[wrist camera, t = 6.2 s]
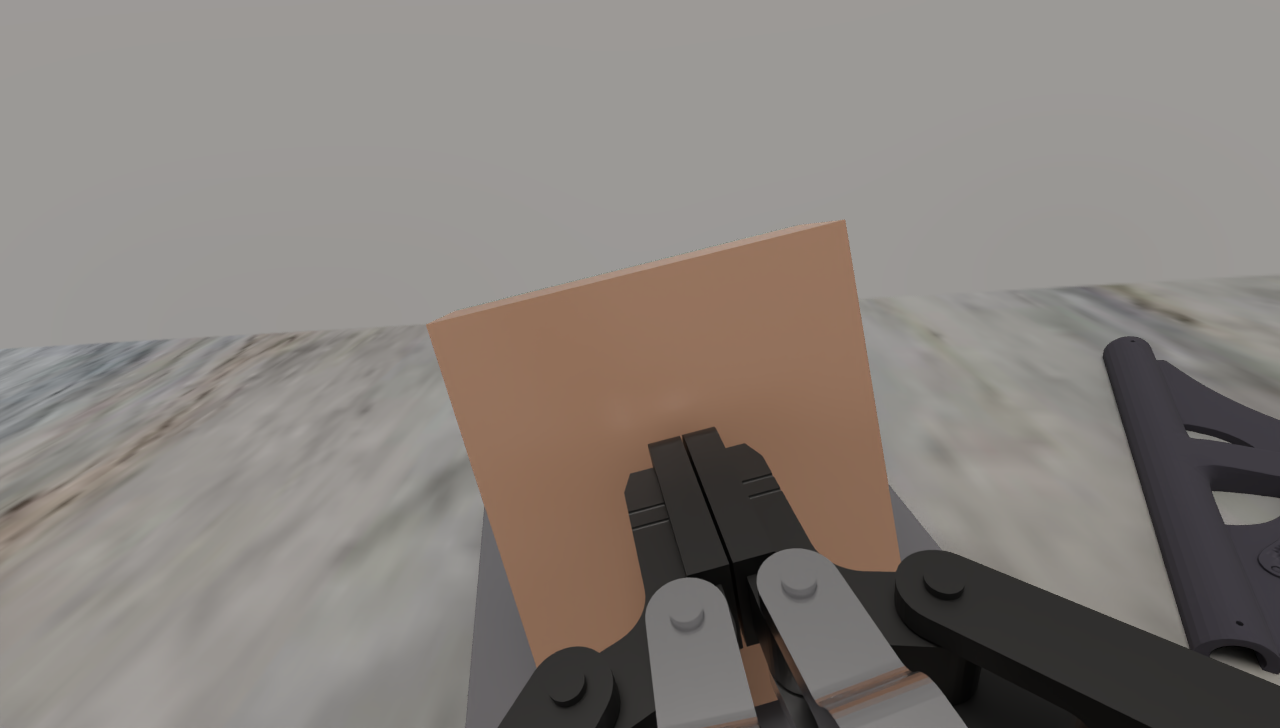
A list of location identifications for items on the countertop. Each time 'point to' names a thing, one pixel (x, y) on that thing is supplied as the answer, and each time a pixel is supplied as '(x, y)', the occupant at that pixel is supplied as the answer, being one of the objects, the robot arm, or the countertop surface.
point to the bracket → (1204, 499)
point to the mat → (506, 649)
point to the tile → (665, 416)
